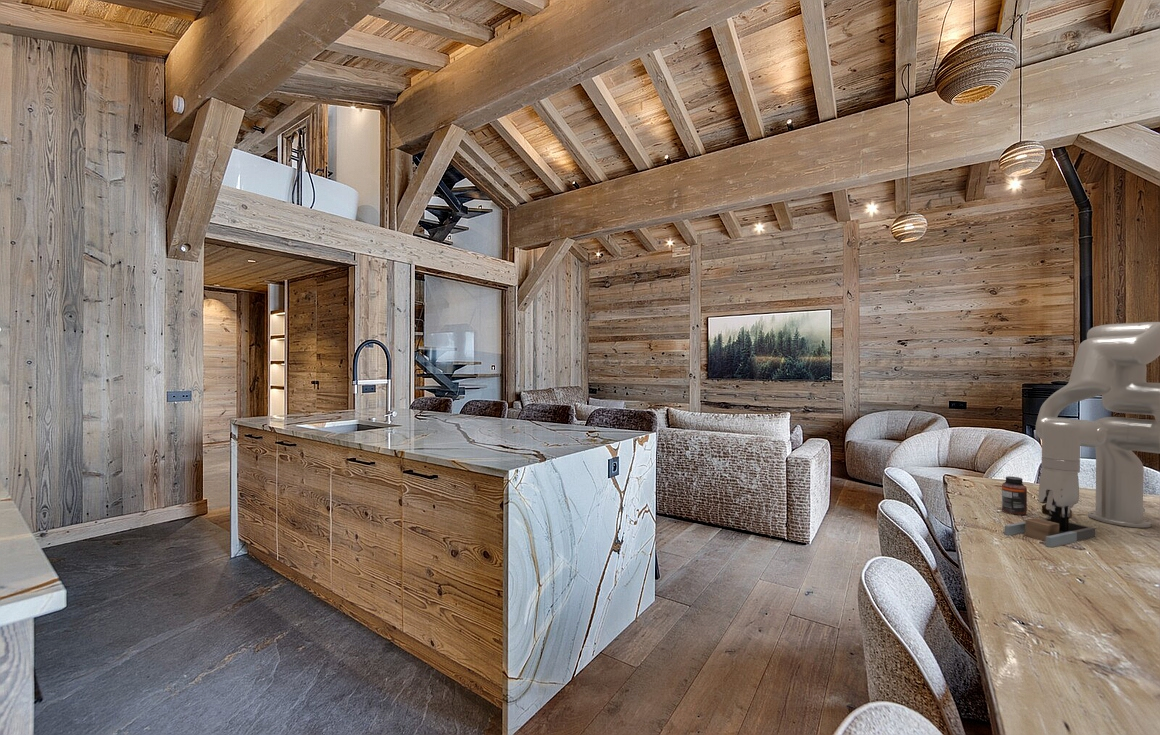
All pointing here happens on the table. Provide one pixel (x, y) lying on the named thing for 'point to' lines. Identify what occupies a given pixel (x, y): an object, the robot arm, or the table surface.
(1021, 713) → the table surface
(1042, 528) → the walnut block
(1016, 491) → the supplement bottle
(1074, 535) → the grey u-shaped bracket
